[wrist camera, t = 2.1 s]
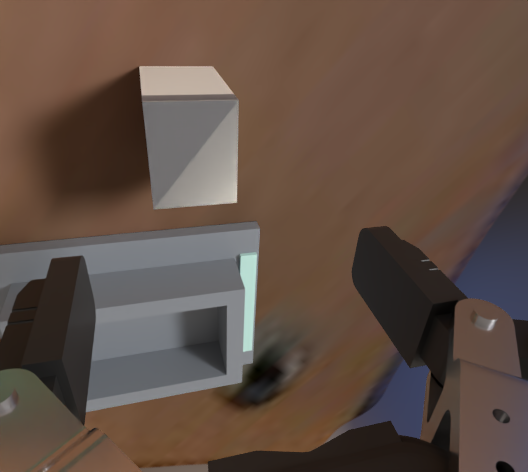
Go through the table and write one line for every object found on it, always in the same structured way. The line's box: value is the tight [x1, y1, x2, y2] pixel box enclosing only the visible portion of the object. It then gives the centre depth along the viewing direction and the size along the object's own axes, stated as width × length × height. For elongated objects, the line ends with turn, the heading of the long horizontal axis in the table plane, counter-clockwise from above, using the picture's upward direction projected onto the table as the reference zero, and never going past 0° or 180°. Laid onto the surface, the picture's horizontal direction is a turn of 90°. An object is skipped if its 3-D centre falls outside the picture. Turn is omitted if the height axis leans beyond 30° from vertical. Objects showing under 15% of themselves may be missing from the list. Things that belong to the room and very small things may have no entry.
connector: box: [139, 66, 239, 209], centre depth 22 cm, size 4×5×7 cm
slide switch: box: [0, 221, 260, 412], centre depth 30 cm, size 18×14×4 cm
